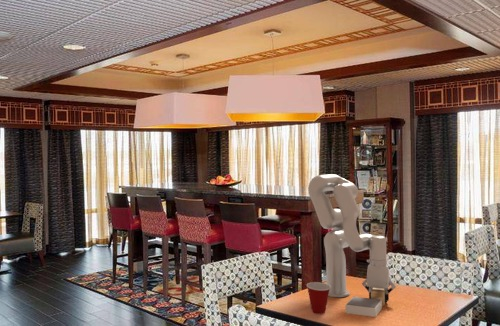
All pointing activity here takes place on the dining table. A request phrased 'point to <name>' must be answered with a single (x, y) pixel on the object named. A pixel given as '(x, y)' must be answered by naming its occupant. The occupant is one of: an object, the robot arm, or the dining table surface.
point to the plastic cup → (318, 296)
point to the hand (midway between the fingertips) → (378, 300)
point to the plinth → (364, 306)
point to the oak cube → (378, 294)
